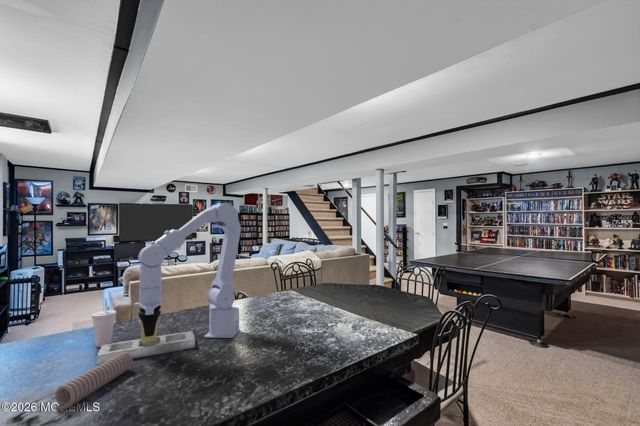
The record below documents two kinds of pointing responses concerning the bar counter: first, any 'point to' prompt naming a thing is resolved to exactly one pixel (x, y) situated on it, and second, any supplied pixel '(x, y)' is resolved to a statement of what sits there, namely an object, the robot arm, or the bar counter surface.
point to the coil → (92, 380)
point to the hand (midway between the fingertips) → (149, 333)
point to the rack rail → (147, 346)
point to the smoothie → (103, 325)
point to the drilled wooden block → (149, 338)
